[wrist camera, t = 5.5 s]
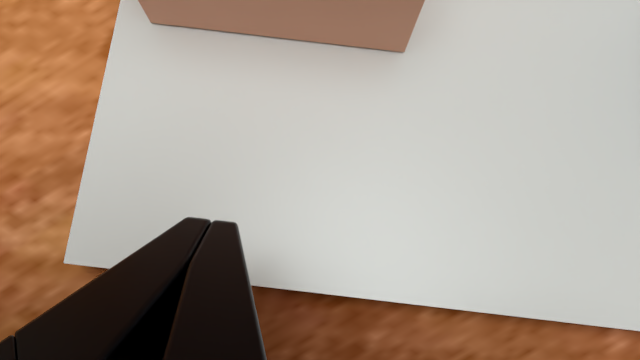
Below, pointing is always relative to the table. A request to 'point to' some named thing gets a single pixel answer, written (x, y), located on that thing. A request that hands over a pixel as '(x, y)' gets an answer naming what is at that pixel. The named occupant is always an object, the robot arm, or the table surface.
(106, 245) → the grey base board
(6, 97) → the table surface
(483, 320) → the table surface
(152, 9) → the terracotta block
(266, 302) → the table surface
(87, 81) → the table surface
